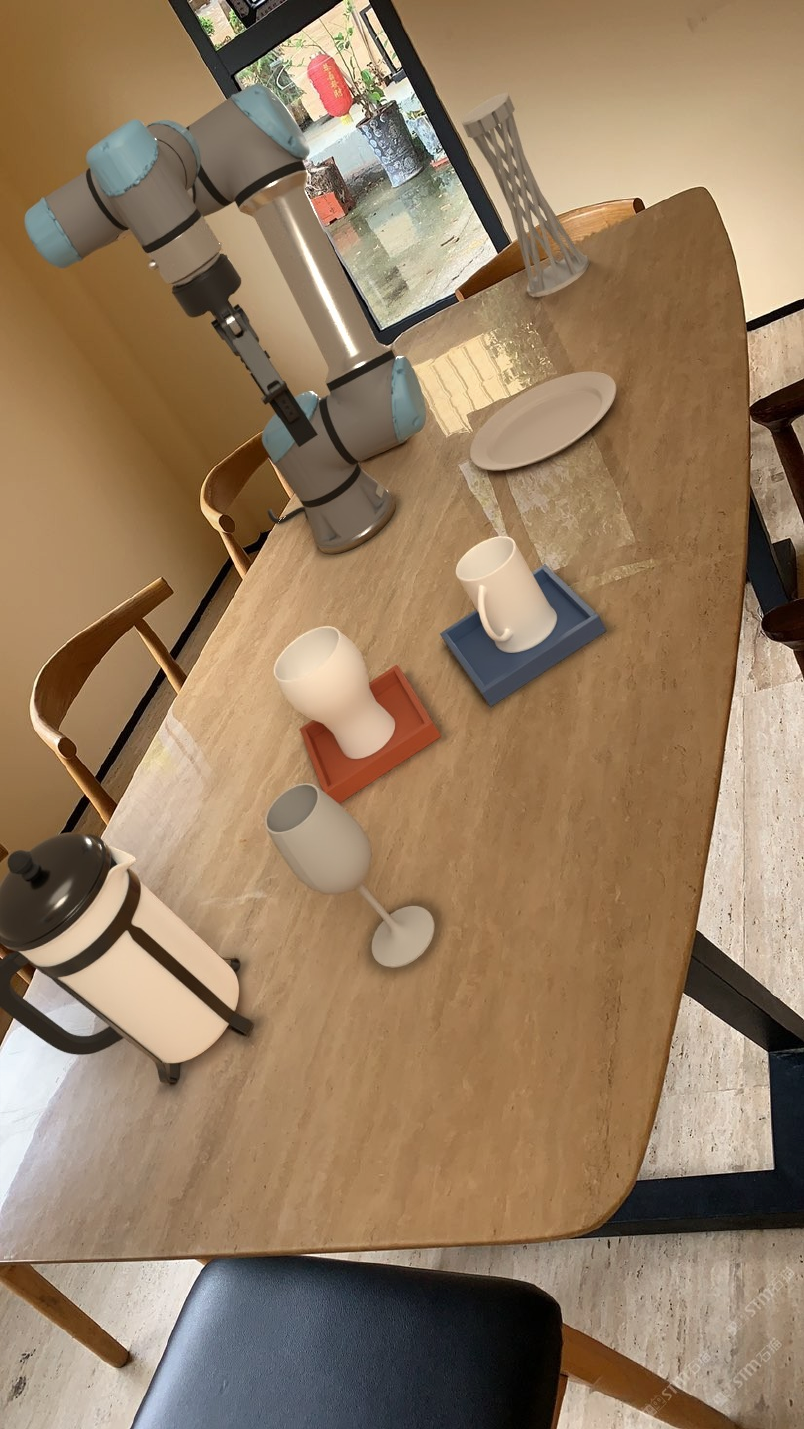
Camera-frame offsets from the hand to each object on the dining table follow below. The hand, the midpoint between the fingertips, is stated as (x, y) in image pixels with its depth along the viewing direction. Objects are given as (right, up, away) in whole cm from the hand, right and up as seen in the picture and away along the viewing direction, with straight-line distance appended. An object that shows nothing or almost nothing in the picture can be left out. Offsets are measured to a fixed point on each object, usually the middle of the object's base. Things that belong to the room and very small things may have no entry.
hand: (297, 425), depth 130 cm
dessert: (+10, +16, +70) cm, 72 cm away
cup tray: (+9, -39, +3) cm, 40 cm away
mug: (+28, -27, +1) cm, 39 cm away
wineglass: (+13, -59, -24) cm, 65 cm away
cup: (+9, -39, +3) cm, 40 cm away
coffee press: (-9, -70, -18) cm, 73 cm away
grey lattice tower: (+45, +54, +85) cm, 110 cm away
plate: (+37, +10, +40) cm, 55 cm away
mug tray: (+28, -26, +2) cm, 39 cm away
